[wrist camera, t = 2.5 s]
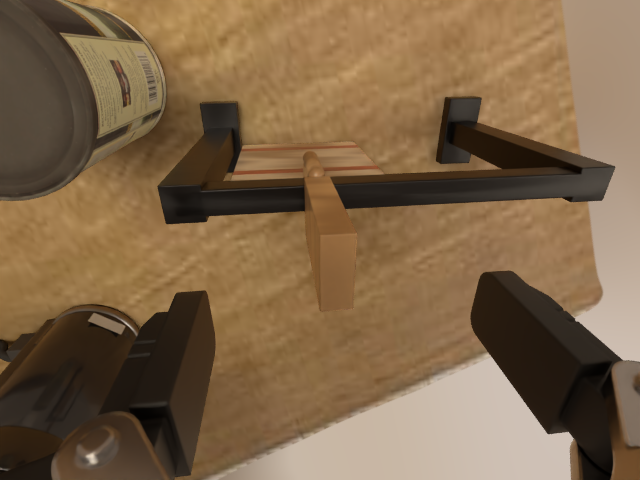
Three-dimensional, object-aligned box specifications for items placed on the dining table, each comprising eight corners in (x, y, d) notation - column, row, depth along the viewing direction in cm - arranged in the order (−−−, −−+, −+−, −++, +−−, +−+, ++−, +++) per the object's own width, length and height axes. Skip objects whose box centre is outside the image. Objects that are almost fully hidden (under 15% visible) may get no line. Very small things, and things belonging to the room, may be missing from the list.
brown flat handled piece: (245, 170, 29) (206, 331, 12) (240, 122, 27) (185, 231, 10) (352, 166, 30) (457, 309, 13) (354, 119, 28) (478, 215, 11)
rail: (212, 169, 33) (164, 259, 18) (202, 101, 30) (135, 143, 16) (463, 159, 36) (597, 231, 21) (475, 96, 33) (640, 128, 18)
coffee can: (-3, 51, 27) (-239, 46, 14) (103, -25, 26) (-57, -102, 13) (99, 165, 32) (-13, 235, 19) (193, 106, 30) (137, 139, 18)
